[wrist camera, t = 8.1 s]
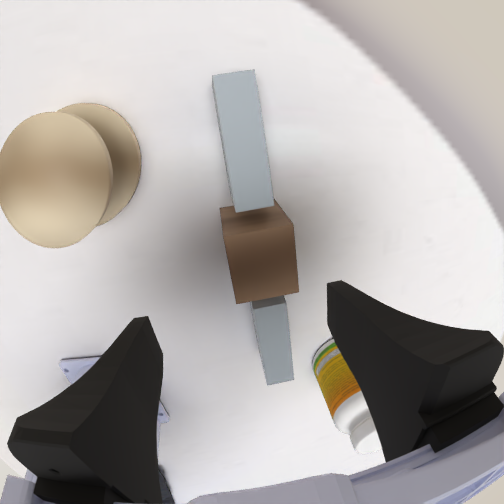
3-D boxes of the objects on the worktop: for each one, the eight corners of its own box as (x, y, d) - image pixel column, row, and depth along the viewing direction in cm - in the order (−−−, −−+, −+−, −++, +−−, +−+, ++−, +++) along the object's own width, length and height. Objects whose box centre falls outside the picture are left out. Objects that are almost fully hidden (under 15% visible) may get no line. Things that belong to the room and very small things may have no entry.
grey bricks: (283, 345, 25) (294, 379, 22) (259, 350, 25) (267, 385, 22) (245, 79, 17) (254, 69, 13) (212, 84, 17) (212, 75, 13)
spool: (153, 209, 19) (136, 240, 15) (51, 235, 19) (16, 268, 14) (128, 87, 16) (100, 78, 11) (23, 127, 16) (-23, 135, 11)
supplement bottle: (299, 369, 27) (330, 459, 18) (335, 325, 25) (383, 414, 16) (342, 381, 28) (378, 459, 20) (377, 341, 27) (426, 419, 18)
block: (280, 254, 22) (298, 291, 17) (230, 263, 22) (236, 304, 17) (273, 198, 20) (293, 224, 16) (219, 208, 20) (223, 236, 15)
